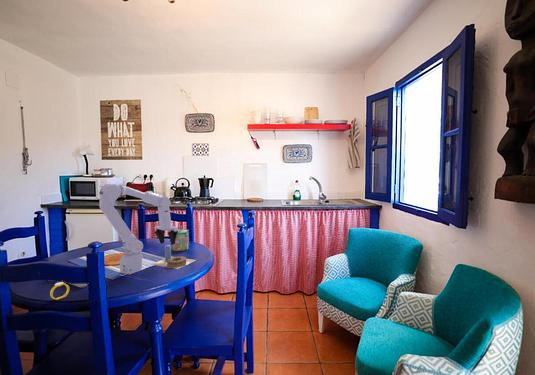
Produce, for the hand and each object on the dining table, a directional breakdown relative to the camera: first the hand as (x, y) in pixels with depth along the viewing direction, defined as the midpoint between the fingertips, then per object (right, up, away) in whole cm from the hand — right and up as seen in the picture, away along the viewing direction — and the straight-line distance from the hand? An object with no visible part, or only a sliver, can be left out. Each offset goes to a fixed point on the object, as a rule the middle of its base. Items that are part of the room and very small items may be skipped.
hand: (167, 243), depth 144 cm
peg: (0, -9, 0) cm, 9 cm away
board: (+4, -10, -3) cm, 11 cm away
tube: (-34, -12, -24) cm, 43 cm away
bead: (+7, -9, -6) cm, 13 cm away
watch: (-27, -13, -39) cm, 49 cm away
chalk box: (0, -9, +23) cm, 24 cm away
